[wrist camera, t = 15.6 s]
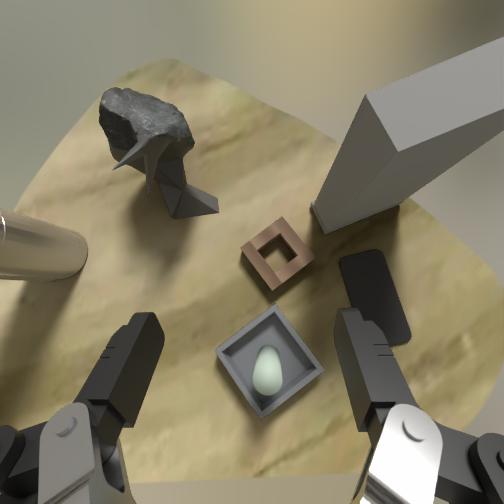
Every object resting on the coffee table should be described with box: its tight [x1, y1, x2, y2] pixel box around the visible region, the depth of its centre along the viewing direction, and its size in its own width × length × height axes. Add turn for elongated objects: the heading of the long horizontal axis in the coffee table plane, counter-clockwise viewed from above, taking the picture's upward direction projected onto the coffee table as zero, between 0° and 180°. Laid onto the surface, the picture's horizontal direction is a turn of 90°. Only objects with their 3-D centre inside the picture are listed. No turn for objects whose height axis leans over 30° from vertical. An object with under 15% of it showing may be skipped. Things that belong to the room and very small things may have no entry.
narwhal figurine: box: [99, 87, 219, 219], centre depth 37 cm, size 14×15×18 cm
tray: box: [214, 303, 324, 420], centre depth 38 cm, size 12×12×4 cm
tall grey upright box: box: [311, 37, 504, 234], centre depth 30 cm, size 14×6×25 cm, turn 111°
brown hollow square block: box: [240, 217, 316, 291], centre depth 41 cm, size 9×9×2 cm
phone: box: [339, 250, 411, 346], centre depth 40 cm, size 7×1×15 cm
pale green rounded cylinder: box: [253, 345, 282, 395], centre depth 34 cm, size 4×4×10 cm
